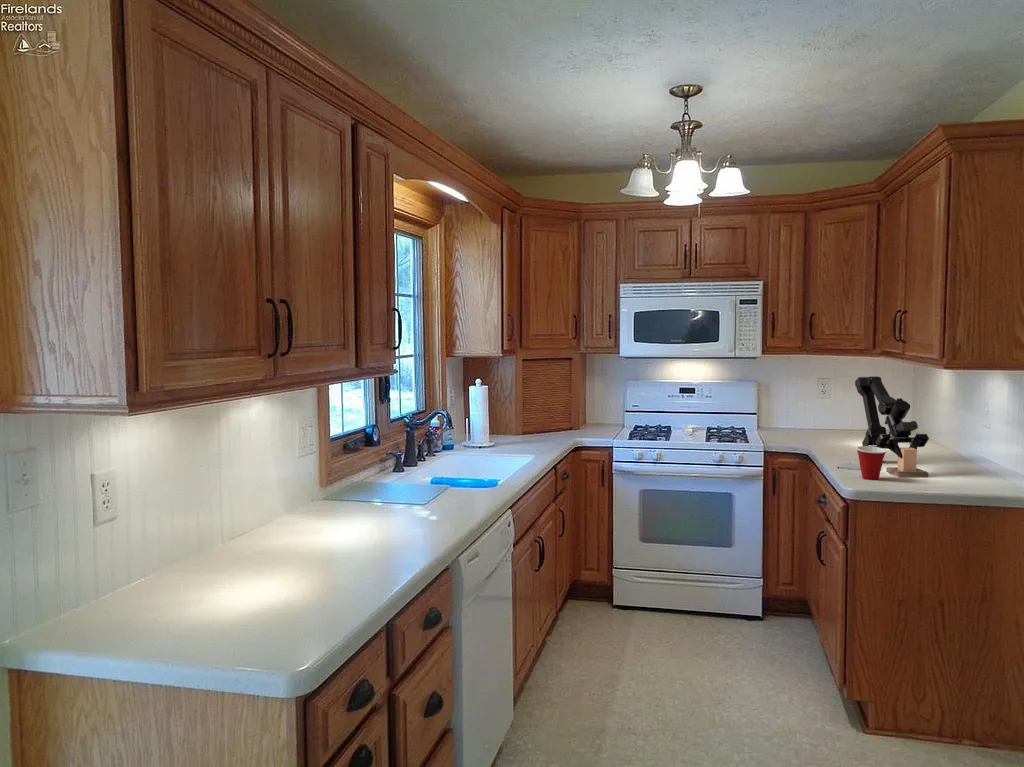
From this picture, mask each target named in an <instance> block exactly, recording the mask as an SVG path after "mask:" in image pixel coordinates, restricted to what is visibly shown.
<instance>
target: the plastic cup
mask: <svg viewBox="0 0 1024 767" xmlns="http://www.w3.org/2000/svg"><path fill="white" fill-rule="evenodd" d="M871 446H872V445H869V446H862V445H861V446H856V447H855V449H856V452H857V456H858V462H859V464H860V469H861V470H860V471H861V472H860V474H861V477H862V479H863V480H867V481H868V480H869V481H872V480H873V481H876V480H879V479H880V475H881V471H882V467H883V463H884V462H883V460H884V458H885V455H886V453H887V452H888V450H887V449H883V448H879V447H871Z"/></svg>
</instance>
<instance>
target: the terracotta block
mask: <svg viewBox="0 0 1024 767" xmlns="http://www.w3.org/2000/svg"><path fill="white" fill-rule="evenodd" d="M899 448H900V450H901V452H902V456H903V457H902V458H900V457H899V456H898V455H897V467H898V470H900V471H916V468H918V467H917V459H918V458H917V457H918V448H917V449H914V448H909V447H899Z"/></svg>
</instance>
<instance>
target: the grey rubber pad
mask: <svg viewBox="0 0 1024 767" xmlns="http://www.w3.org/2000/svg"><path fill="white" fill-rule="evenodd" d="M837 467H839V468H838V469H841V468H847V469H846V470H852V469H857V470H856V471H861V469H860V463H858V464H857V463H849V462H844V463H841V464H840V465H837V466H836V468H837Z"/></svg>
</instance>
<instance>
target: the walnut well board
mask: <svg viewBox="0 0 1024 767" xmlns="http://www.w3.org/2000/svg"><path fill="white" fill-rule="evenodd" d="M885 471H886V473H887V472H888V474H890V475H892V474H893V475H892V476H894V477H897V476H898V478H929V471H926V470H923V469H920V468H918V467H917V468H916V471H900V470H898V466H897V467H895V466H891V467H890V466H889V467H888V466H887V467H886V470H885Z"/></svg>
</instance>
